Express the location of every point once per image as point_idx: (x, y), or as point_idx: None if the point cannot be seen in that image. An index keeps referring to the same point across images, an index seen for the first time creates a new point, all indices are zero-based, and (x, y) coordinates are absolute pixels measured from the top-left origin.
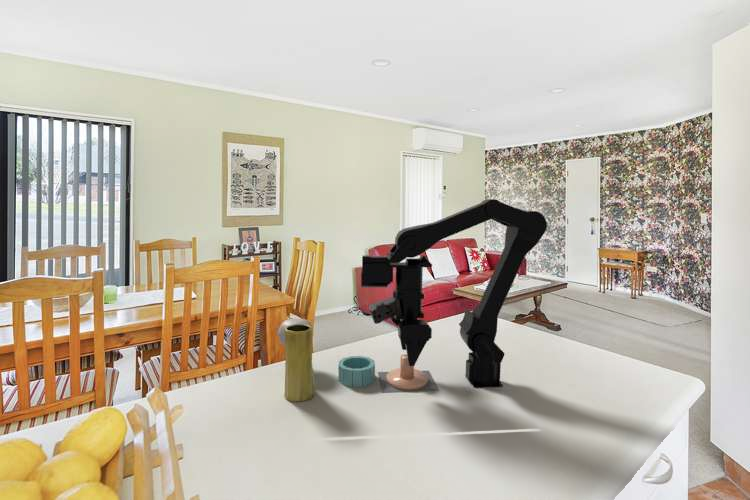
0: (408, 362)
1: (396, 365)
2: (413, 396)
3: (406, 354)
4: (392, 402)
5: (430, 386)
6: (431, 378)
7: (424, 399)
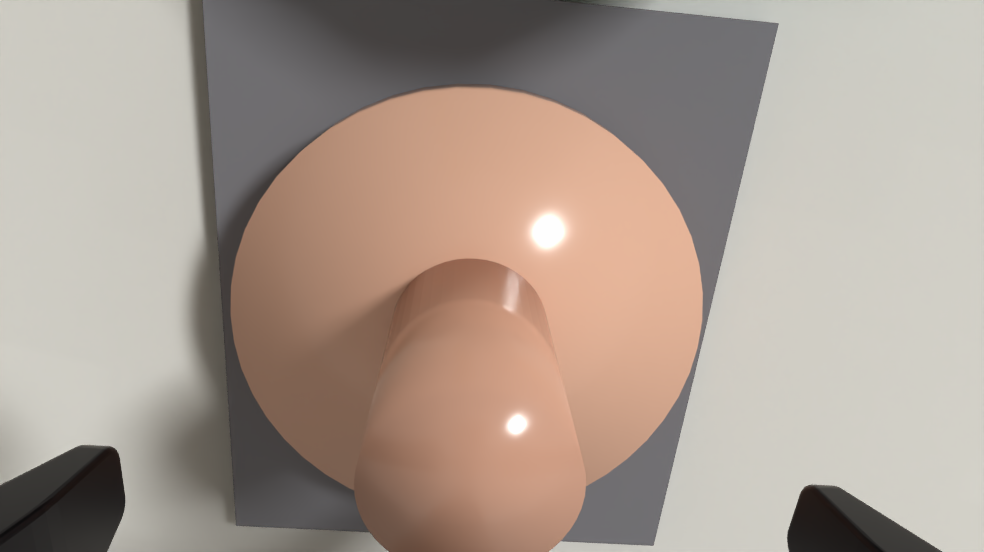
0: (63, 469)
1: (910, 290)
2: (164, 292)
3: (576, 498)
4: (18, 48)
5: (317, 481)
6: None
7: (106, 371)
